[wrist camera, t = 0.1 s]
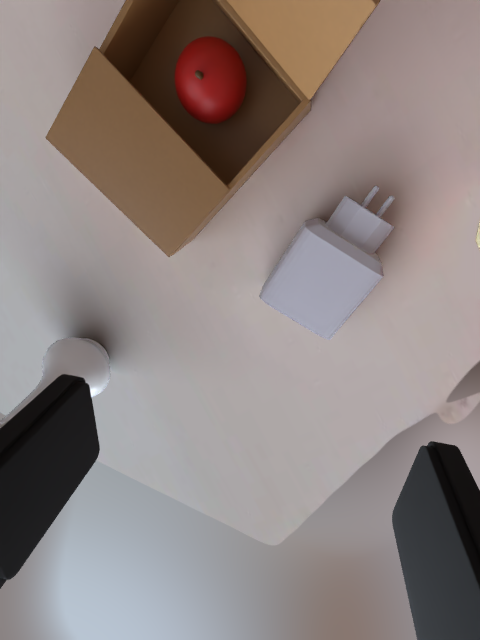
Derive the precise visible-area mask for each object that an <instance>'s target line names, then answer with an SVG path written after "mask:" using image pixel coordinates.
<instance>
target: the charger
mask: <svg viewBox="0 0 480 640" xmlns="http://www.w3.org/2000/svg"><path fill="white" fill-rule="evenodd" d="M378 190H379V187H378V186H374V187H373V189H372V190H371V192H370V193H369V194H368V196H367V197H366V198H365V200H364V201H363V203H362V204H361V205H360V204H359V203H357V202H355V201H354V200H352V199H350V198H349V197H347V196H345V197H344V198H343V200H342V201H341V203H340V204H339V206H338V207H337V208H336V210H335V211H334V213H333V214H332V216H331V217H330V219H329V220H328V222H325V221H324V220H322V219H320V218H315V219H311V220H307V221H305V222H304V224H303V225H302V227H301V228H300V230H299V231H298V233H297V234H296V236H295V238H294V239H293V241H292V242H291V244H290V245H289V247H288V248H287V250H286V251H285V253H284V254H283V256H282V258H281V259H280V261H279V262H278V264H277V265H276V267H275V268H274V270H273V271H272V273H271V274H270V276H269V278H268V279H267V281H266V282H265V284H264V285H263V287H262V290H261V293H260V295H259V297H260V298H261V299H262V300H263V301H264V302H265V303H266V304H268V305H269V306H271V307H272V308H274V309H276V310H277V311H279V312H281V313H282V314H284V315H286V316H287V317H289V318H291V319H292V320H294V321H296V322H297V323H299V324H300V325H302V326H304V327H305V328H307V329H309V330H310V331H312V332H314V333H315V334H317V335H319V336H321V337H323V338H325V339H328V340H330V339H331V338H332V337H333V335H334V334H335V333H336V332H337V331H338V329H339V328H340V327H341V326H342V325H343V324H344V322H345V321H346V320H347V319H348V318H349V316H350V315H351V314H352V313H353V312H354V311H355V309H356V308H357V307H358V306H359V305H360V303H361V302H362V301H363V300H364V299H365V298H366V296H367V295H368V294H369V293H370V292H371V290H372V289H373V288H374V287H375V286H376V285H377V283H378V282H379V281H380V280H381V279H382V277H383V276H384V275H383V267H382V262H381V261H380V259H379V257H378V256H377V254H375V253H374V252H375V251H376V250H377V249H378V247H379V246H380V245H381V244H382V242H383V241H384V240H385V239H386V237H387V236H388V235H389V234H390V232H391V231H392V230H393V229H394V227H393V226H392V225H391V224H389V223H388V222H386V221H385V220H383V219H382V218H380V217H381V216H382V215H383V213H384V212H385V211H386V209H387V208H388V207H389V205H390V204H391V203H392V201H393V200H394V197H393V196H389V197H388V199H387V200H386V201H385V203H384V204H383V205H382V207H381V208H380V209H379V211H378V212H377V213H376V214H374V213H373V212H371V211H370V210H368V209H366V206H367V205H368V204H369V202H370V201H371V200H372V198H373V197H374V196H375V194H376V193H377V191H378Z"/></svg>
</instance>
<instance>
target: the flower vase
mask: <svg viewBox="0 0 480 640" xmlns="http://www.w3.org/2000/svg"><path fill="white" fill-rule="evenodd" d="M109 364H110V360H109V356H108V353H107V352H106V350H105V349H104V348H103V346H102V345H100V344H99V343H98V342H96V341H94V340H92V339H88V338H81V339H80V338H63V339H60V340H57V341H56V342H54V343H53V344H52V345H50V347H49V348H48V349H47V351H46V353H45V354H44V357H43V362H42V372H43V376H42V378H41V380H40V382H39V384H38V385H37V387H36V388H35V389H34V390H33V391H32V392H31V393H30V394H29V395H28V396H27V397H26V398H25V399H24V400H23V401H22V402H21V403H20V404H19V405H18V406H16V407H15V408H14V409H13V410H12V411H11V412H10V413H9V414H8V415H6V416H5V417H4V418H3V419H2V420H1V421H0V428H1V427H3V426H4V425H5V424H6V423H7V422H8V421H9V420H10V419H11V418H13V417H14V416H15V415H16V414H17V413H18V412H19V411H20V410H22V409H23V408H24V407H25V406H26V405H27V404H28V403H29V402H31V401H32V400H33V399H34V398H35V397H36V396H37V395H38V394H40V393H41V392H42V391H43V390H44V389H45V388H46V387H47V386H48V385H50V384H51V383H52V382H53V381H54V380H55V379H56V378H57V377H59V376H60V375H62V374H67V375H73V376H78V377H83V378H84V379H85V382H86V383H88V384H89V386H90V392H91V398H92V397H94V396H95V395H97V394H99V393H100V392H102V391H103V390H104V389H105V387H106V386H107V385H108V382H109V379H110V366H109Z"/></svg>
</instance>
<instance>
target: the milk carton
mask: <svg viewBox="0 0 480 640" xmlns="http://www.w3.org/2000/svg"><path fill="white" fill-rule="evenodd" d="M476 242H477V244H478V247H479V249H480V223H479V228H478V232H477V237H476Z"/></svg>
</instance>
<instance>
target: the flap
mask: <svg viewBox="0 0 480 640" xmlns="http://www.w3.org/2000/svg"><path fill="white" fill-rule="evenodd" d="M227 1H228V3H229V4H230V5H231V6H232V7H233V9H234V10H235V11H236V12H237V14H238V15H239V16H240V17H241V18H242V20H243V21H244V22H245V23H246V24H247V26H248V27H249V28H250V29H251V30H252V32H253V33H254V34H255V35H256V37H257V38H258V39H259V40H260V41H261V43H262V44H263V45H264V46H265V47H266V49H267V50H268V51H269V52H270V53H271V55H272V56H273V57H274V58H275V59H276V61H277V62H278V63H279V64H280V66H281V67H282V68H283V69H284V70H285V72H286V73H287V74H288V75H289V76H290V78H291V79H292V80H293V81H294V82H295V84H296V85H297V86H298V87H299V89H300V90H301V91H302V92H303V93H304V95H305V96H306V97H307V98H308V99H309V100H310V99H311V98H312V97H313V96H314V94H315V93H316V91H317V90H318V89H319V87H320V86H321V84H322V83H323V82H324V80H325V79H326V77H327V76H328V74H329V73H330V72H331V70H332V69H333V67H334V66H335V65H336V63H337V62H338V60H339V59H340V57H341V56H342V55H343V53H344V52H345V50H346V49H347V48H348V46H349V45H350V43H351V42H352V40H353V39H354V38H355V36H356V35H357V33H358V32H359V31H360V29H361V28H362V26H363V25H364V23H365V22H366V21H367V19H368V18H369V16H370V15H371V14H372V12H373V11H374V9H375V8H376V6H377V5H378V4H379V2H380V0H227Z"/></svg>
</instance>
